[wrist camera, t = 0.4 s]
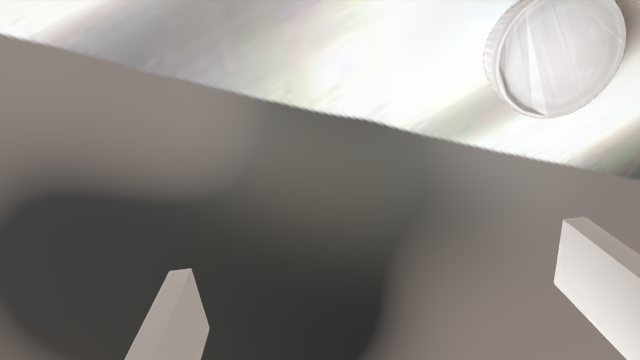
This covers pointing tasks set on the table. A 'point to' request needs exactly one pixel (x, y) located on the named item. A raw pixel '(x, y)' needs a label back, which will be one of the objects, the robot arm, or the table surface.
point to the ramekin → (554, 54)
